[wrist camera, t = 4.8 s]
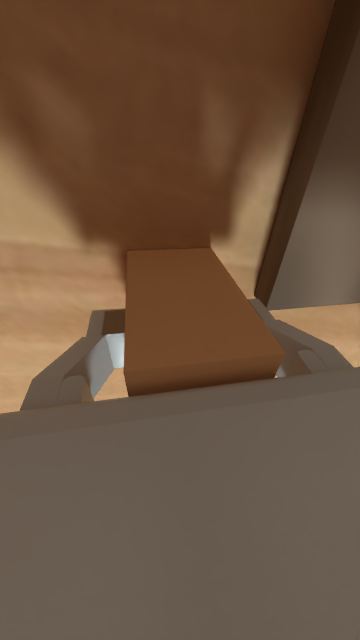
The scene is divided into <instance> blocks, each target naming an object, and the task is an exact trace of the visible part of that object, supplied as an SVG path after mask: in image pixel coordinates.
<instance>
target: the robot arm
mask: <svg viewBox="0 0 360 640" xmlns="http://www.w3.org/2000/svg"><path fill="white" fill-rule="evenodd" d="M248 301H249V302H250V304H251V305H252V306H253V308H254V309H255V311H256V312H257V314H258V315H259V316H260V318H261V319H262V321H263V322H264V323H265V325H266V326H267V328H268V329H269V330H270V332H271V333H272V335H273V336H274V338H275V339H276V340H277V342H278V343H279V345H280V346H281V347H282V349H283V350H284V352H285V353H286V354H285V356H284V358H283V360H282V362H281V364H280V366H279V369H278V371H277V373H276V376H278V377H279V378H271V379H263V380H255V381H248V382H240V383H232V384H224V385H217V386H209V387H201V388H194V389H186V390H178V391H171V392H163V393H155V394H147V395H140V396H132V397H124V398H117V399H109V400H101V401H94V400H93V398H94V397H95V396H96V394H97V393H98V391H99V390H100V389H101V387H102V386H103V384H104V383H105V381H106V380H107V379H108V377H109V376H110V374H111V373H112V371H113V370H114V368H121V367H124V341H125V309H106V310H93V311H92V313H91V317H90V321H89V326H88V330H87V335H86V337H82V338H81V339H80V340H78V341H77V342H76V343H75V344H74V345H72V346H71V347H70V348H69V349H68V350H67V351H65V352H64V353H63V354H62V355H61V356H60V357H58V358H57V359H56V360H55V361H54V362H52V363H51V364H50V365H49V366H48V367H47V368H45V369H44V370H43V371H42V372H41V373H39V374H38V375H37V376H36V377H35V378H34V379H32V382H31V384H30V387H29V389H28V392H27V394H26V396H25V399H24V401H23V404H22V406H21V409H20V411H17V412H9V413H1V414H0V640H360V367H356V368H354V367H353V366H352V365H351V364H350V363H349V362H348V361H347V360H346V359H345V358H344V357H343V356H342V354H341V353H340V352H339V351H338V350H337V349H336V348H335V347H334V346H332V345H330V344H328V343H326V342H324V341H322V340H320V339H318V338H316V337H314V336H312V335H309V334H307V333H305V332H303V331H301V330H299V329H297V328H295V327H293V326H291V325H289V324H287V323H285V322H282V321H280V320H275V319H274V317H273V316H272V315H271V314H270V312H269V311H268V310H267V309H266V307H265V306H264V305H263V304H262V302H261V301H260V300H259V299H257V298H255V299H248Z"/></svg>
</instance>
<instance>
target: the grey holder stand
mask: <svg viewBox="0 0 360 640" xmlns="http://www.w3.org/2000/svg"><path fill="white" fill-rule="evenodd" d="M254 296H255V297H256V298H257V299H259V300H260V301H261V302H262V304H263V305H264V306H265V307H266V309H267V310H280V309H292V308H304V307H316V306H328V305H341V304H353V303H360V0H336V3H335V7H334V10H333V14H332V18H331V21H330V25H329V28H328V32H327V36H326V39H325V43H324V46H323V50H322V54H321V57H320V61H319V64H318V68H317V71H316V75H315V79H314V82H313V86H312V89H311V93H310V97H309V100H308V104H307V107H306V111H305V115H304V118H303V122H302V125H301V129H300V133H299V136H298V140H297V143H296V147H295V151H294V154H293V158H292V161H291V165H290V169H289V172H288V176H287V179H286V183H285V186H284V190H283V194H282V197H281V201H280V204H279V208H278V212H277V215H276V219H275V222H274V226H273V230H272V233H271V237H270V240H269V244H268V248H267V251H266V255H265V258H264V262H263V266H262V269H261V273H260V276H259V280H258V284H257V287H256V291H255V294H254Z"/></svg>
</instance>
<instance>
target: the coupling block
mask: <svg viewBox="0 0 360 640" xmlns="http://www.w3.org/2000/svg"><path fill="white" fill-rule="evenodd" d="M285 354H286V353H285V352H284V350H283V349H282V347H281V346H280V345H279V343H278V342H277V340H276V339H275V338H274V336H273V335H272V333H271V332H270V330H269V329H268V328H267V326H266V325H265V323H264V322H263V321H262V319H261V318H260V316H259V315H258V314H257V312H256V311H255V309H254V308H253V306H252V305H251V304H250V302H249V301H248V299H247V298H246V297H245V295H244V294H243V292H242V291H241V290H240V288H239V287H238V285H237V284H236V283H235V281H234V280H233V278H232V277H231V275H230V274H229V273H228V271H227V270H226V268H225V267H224V266H223V264H222V263H221V261H220V260H219V259H218V257H217V256H216V254H215V253H214V252H213V250H212V249H211V248H189V249H161V250H134V251H127V276H126V308H125V341H124V376H125V381H126V386H127V391H128V396H129V397H132V396H140V395H147V394H155V393H163V392H171V391H178V390H186V389H194V388H201V387H209V386H217V385H224V384H232V383H240V382H248V381H255V380H263V379H271V378H274V377H275V375H276V373H277V371H278V369H279V366H280V364H281V362H282V360H283V358H284V356H285Z"/></svg>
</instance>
